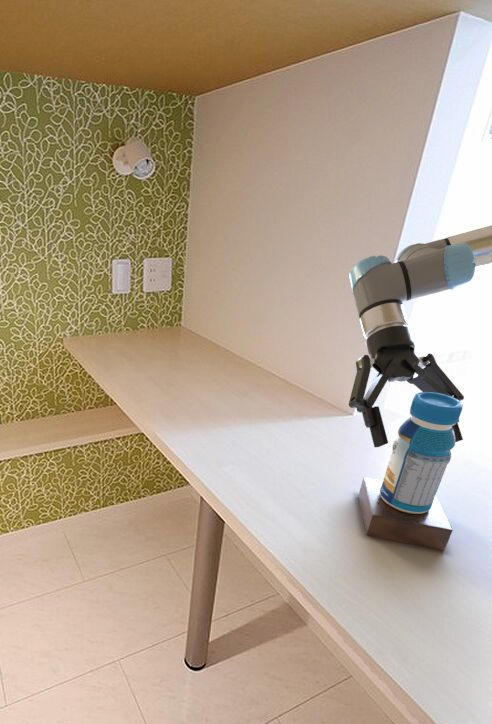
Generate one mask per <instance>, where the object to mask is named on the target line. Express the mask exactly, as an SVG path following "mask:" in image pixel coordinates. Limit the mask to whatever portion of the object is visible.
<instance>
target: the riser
mask: <svg viewBox="0 0 492 724" xmlns="http://www.w3.org/2000/svg"><path fill="white" fill-rule="evenodd" d="M362 478H363V479H362V482H361V485H360V488H359V493H358V495H357V496H358V501H359V506H360V510H361V515H362V519H363V524H364V529H365V535H366V536H370V537H376V538H379V539H384V540H389V541H393V542H399V543H405V544H409V545H413V546H419V547H424V548H428V549H434V550H438V551H442V552H443V551H445V550H446V547H447V545H448V543H449V540H450V537H451V535H452V533H453V531H454V530H453V528H452V526H451V524H450V521H449V520H448V517H447V515H446V513H445V510H444V508H443V507H442V505H441V502H440V500H439V498H438V496H437V494H436V495H435V498H434V500H433V504H432V507H431V509H430V510H429V511H427V512H425V513H422V514H411V513H406V512H403V511H400V510H397V509H395V508H393V507H391V506H390V505H388V504H387V503H386V502H385V501H384V500H383V499H382V498H381V496H380V489H381V486H382V483H383V480H384V479H377V478H370V477H365V476H364V477H362Z"/></svg>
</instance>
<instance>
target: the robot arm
mask: <svg viewBox="0 0 492 724" xmlns="http://www.w3.org/2000/svg"><path fill="white" fill-rule="evenodd" d="M488 266H492V225H488V226H483V227H480V228H476V229H473V230H469V231H465V232H462V233H459V234H455V235H451V236H447V237H445V238H441V239H437V240H433V241H430V242H426V243H421V242H419V243H414V244H410V245H408V246H406V247H405V248H403V249H402V250H401V251H400V252H399V253H398V255H397V256H396V259H395V262H394V263H392V261H390V258H389V257H387V256H385V255H381V254H380V255H377V256H375V255H371V256H368V257H365V258H363V259H361V260H360V261H358V262H357V263H355V264H354V265H353V266H352V267H351V269H350V271H349V276H348V277H349V283H350V287H351V292H352V297H353V299H354V303H355V307H356V311H357V314H358V318H359V321H360V325H361V329H362V332H363V336H364V339H365V345H366V350H367V353H368V354H364V355H363V356H361V357H360V358H359V359H357V360H356V362H355V366H356V374H355V377H354V382H353V386H352V389H351V393H350V396H349V401H348V407H349V408H350V409H354V408H356V411H357V412H358V413H360V414H362V418H363V419H362V420H363V421H364V426H365V427H366V428H368V429H369V431H370V436H371V440H372V443H373V447H374V448H381V447H383V446H384V445H387V444H389V441H388V437H387V433H386V429H385V425H384V422H383V417H382V414H381V410H380V407H379V405H378V406H374V405H375V403H376V401H377V400H378V397H379V396H380V394H381V392H382V390H383V389H384V387H385V385H386V383H387V382H388V383H393V382H396V381H397V382H407V383H408V384H410V385H413V386H415V387H416V388H417V389H418V390H420V391H421V392H433V393H439V394H444V395H447V396H450V397H453V398H455V399H457V400H459V401H460V402H461V401H463V400H465V396H464V395H463V394H462V392H461V391H460V390H459V388H458V387H457V386H456V385H455V384H454V382H453V381H452V380H451V379H450V378H449V377H448V375H447V374H446V373H445V372H444V371H443V369H442V368H441V367H440V366H439V365H438V363H437V361H436V358H435V356H434V354H432V353H427V354H426V355H424V356H418V355H417V354H416V352H415V349H416V348H415V347H416V342H415V339H414V335H413V333H412V329H411V328H410V321H409V319H408V316H407V313H406V311H405V307H404V302H408V301H410V300H415V299H418V298H422V297H426V296H430V295H434V294H437V293H441V292H444V291H448V290H449V291H450V290H454V289H455V288H458V287H461V286H465V285H467V284H469V283H471V282H472V281H473V280H475V277H476V273H477V269H480V268H481V269H482V268H484V267H488ZM372 368H373V369H374V370H375V371H376V372H377V373H376V376H375V377H374V378H373V380H372V384H371V385H370V387H369V388H368V390H367V386H368V382H369V378H370V374H371V371H372V370H371V369H372ZM366 390H367V392H366ZM459 423H460V418H459V419H458V421H457V423H456V424H455V425H453V426H452V428H453V430H454V434H455V443H457V442H460V441H463V440H464V438H463V436H462V433H461V432H462V431H461V429H460V426H459Z"/></svg>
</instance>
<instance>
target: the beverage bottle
mask: <svg viewBox="0 0 492 724" xmlns="http://www.w3.org/2000/svg"><path fill="white" fill-rule="evenodd" d="M462 411H463V403H462V402H461V401H459V400H457V399H455V398H453V397H450V396H447V395H444V394H439V393H433V392H422V391H421V392H418V393H415V394H414V397H413V398H412V400H411V405H410V407H409V415H410V416H409V418H406V420H405V421H403V422H402V423H401V425H400V426H399V428H398V429H397V434H398V436H397V437H396V438H395V439H394V440H393V443H392V450H391V453H390V457H389V460H388V463H387V467H386V470H385V473H384V477H383V479H382V480H383V483H382V486H381V489H380V496H381V498H382V499H383V500H384V501H385V502H386V503H387V504H388V505H390V506H391V507H393V508H395V509H397V510H400V511H403V512H406V513H411V514H422V513H425V512H427V511H429V510H430V509H431V507H432V504H433V500H434V498H435V495H436V496H437V492H438V489H439V488H440V484H441V483H442V479H443V477H444V474H445V471H446V469H447V466H448V465H449V464H450V462H451V460H452V459H451V458H452V451H451V450H453V448H454V447H455V446H456V442H455V434H454V430H453V428H452V426H453V425H455V424H456V423H457V421H458V419H459V420H460V416H461V414H462Z"/></svg>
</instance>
